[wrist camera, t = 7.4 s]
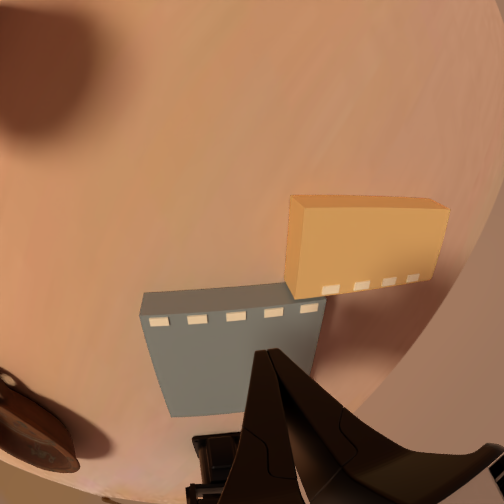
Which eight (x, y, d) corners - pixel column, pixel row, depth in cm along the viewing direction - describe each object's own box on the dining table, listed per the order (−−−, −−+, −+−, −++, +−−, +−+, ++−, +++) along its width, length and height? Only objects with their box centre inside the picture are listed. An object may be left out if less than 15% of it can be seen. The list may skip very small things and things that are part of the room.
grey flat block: (295, 382, 26) (302, 403, 24) (171, 395, 24) (171, 418, 22) (313, 279, 21) (327, 300, 19) (143, 292, 19) (138, 316, 16)
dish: (53, 373, 21) (41, 413, 17) (101, 460, 30) (99, 487, 26) (-54, 341, 17) (-70, 369, 13) (10, 436, 26) (4, 459, 22)
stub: (413, 264, 22) (431, 280, 20) (283, 278, 20) (295, 300, 18) (429, 198, 20) (451, 209, 17) (290, 195, 18) (305, 208, 15)
